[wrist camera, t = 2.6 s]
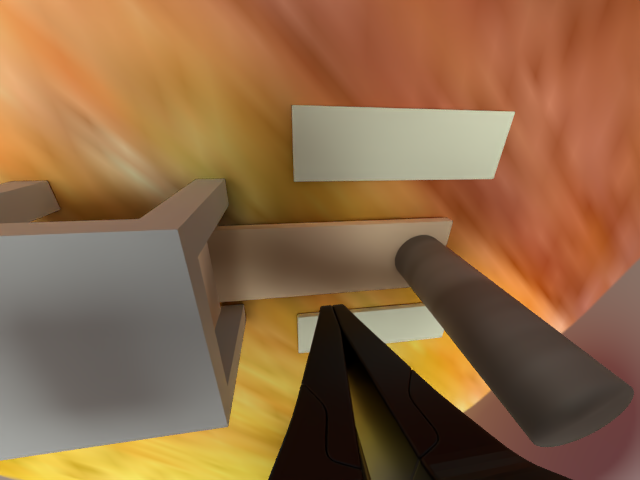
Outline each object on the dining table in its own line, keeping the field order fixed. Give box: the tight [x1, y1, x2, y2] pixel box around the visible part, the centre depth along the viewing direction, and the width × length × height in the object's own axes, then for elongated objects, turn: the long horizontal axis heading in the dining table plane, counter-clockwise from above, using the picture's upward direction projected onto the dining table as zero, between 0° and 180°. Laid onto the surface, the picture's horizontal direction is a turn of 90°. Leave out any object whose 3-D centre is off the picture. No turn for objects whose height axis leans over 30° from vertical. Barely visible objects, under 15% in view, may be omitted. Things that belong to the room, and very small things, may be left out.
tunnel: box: [0, 179, 246, 460], centre depth 9 cm, size 8×8×6 cm
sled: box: [198, 218, 634, 447], centre depth 9 cm, size 5×18×8 cm, turn 89°
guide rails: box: [292, 105, 515, 353], centre depth 13 cm, size 14×10×1 cm
